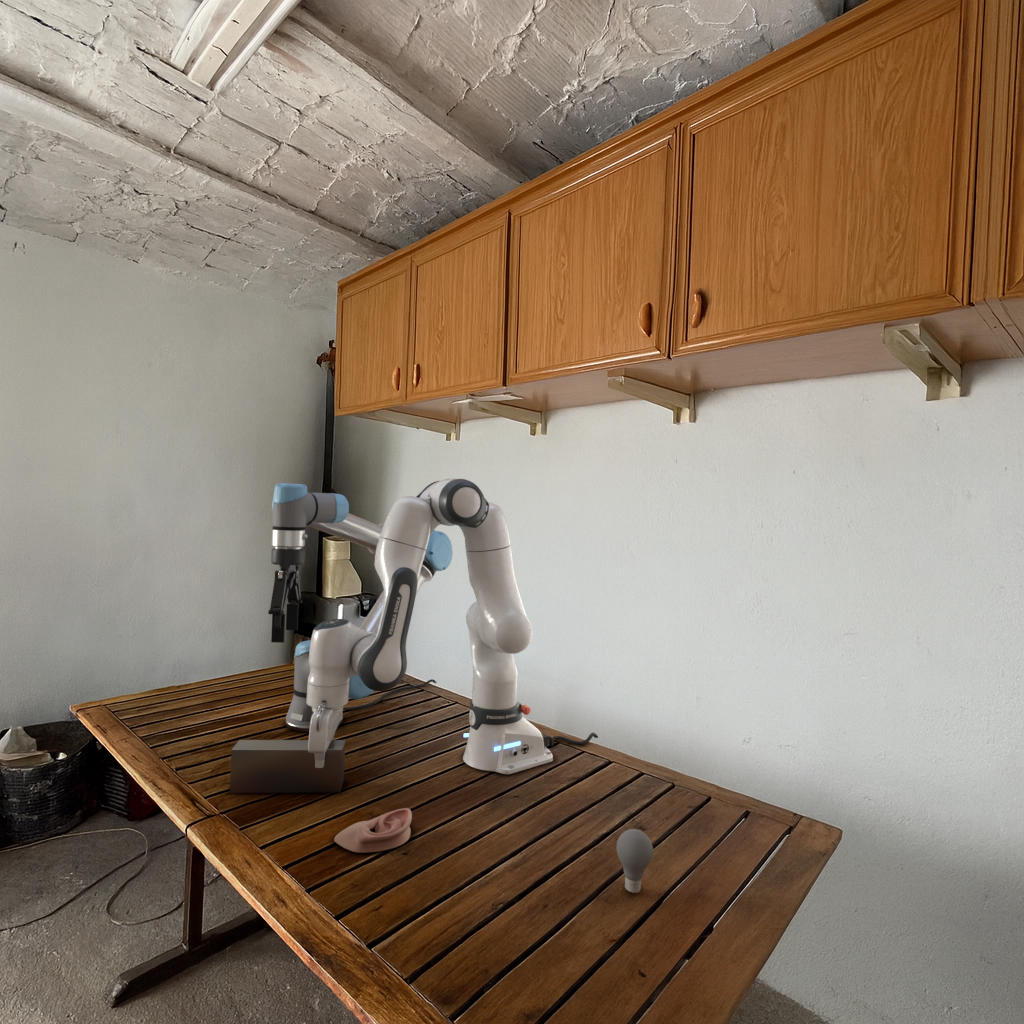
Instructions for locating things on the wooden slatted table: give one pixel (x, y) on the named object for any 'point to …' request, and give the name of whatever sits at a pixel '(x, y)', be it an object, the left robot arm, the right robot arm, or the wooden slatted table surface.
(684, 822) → the wooden slatted table surface
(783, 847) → the wooden slatted table surface
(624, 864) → the light bulb
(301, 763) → the bar
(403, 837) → the anatomical model
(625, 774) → the wooden slatted table surface
